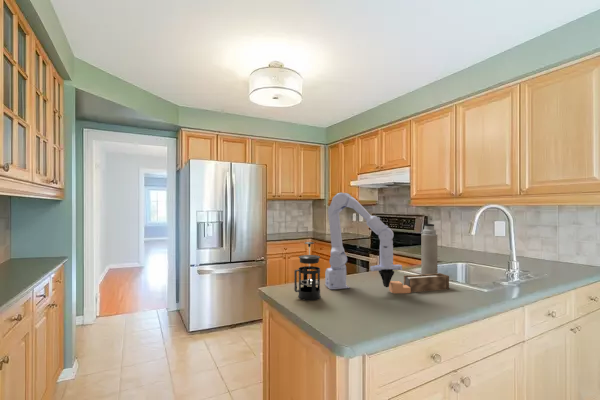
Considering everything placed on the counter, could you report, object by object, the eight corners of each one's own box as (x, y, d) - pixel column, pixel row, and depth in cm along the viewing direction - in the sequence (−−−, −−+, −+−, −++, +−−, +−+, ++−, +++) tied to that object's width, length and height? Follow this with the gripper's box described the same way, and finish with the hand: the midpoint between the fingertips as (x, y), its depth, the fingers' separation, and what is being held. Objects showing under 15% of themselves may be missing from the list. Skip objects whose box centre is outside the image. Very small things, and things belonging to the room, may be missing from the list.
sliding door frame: (411, 292, 135) (411, 278, 135) (403, 288, 140) (403, 275, 140) (449, 289, 139) (449, 276, 139) (440, 285, 145) (440, 273, 145)
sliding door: (409, 290, 136) (409, 279, 136) (405, 288, 139) (405, 277, 139) (440, 288, 140) (440, 277, 140) (435, 286, 143) (435, 275, 143)
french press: (316, 292, 134) (316, 240, 134) (326, 298, 125) (325, 242, 126) (291, 295, 130) (291, 241, 130) (299, 302, 121) (299, 244, 121)
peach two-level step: (392, 293, 133) (392, 283, 133) (389, 290, 138) (389, 281, 138) (410, 293, 134) (410, 283, 134) (406, 290, 138) (406, 281, 138)
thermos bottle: (421, 273, 170) (421, 223, 170) (437, 275, 166) (437, 223, 167) (420, 276, 162) (420, 224, 163) (437, 278, 159) (437, 224, 159)
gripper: (375, 258, 130) (375, 290, 129) (406, 256, 133) (406, 288, 133) (368, 255, 136) (368, 285, 136) (397, 254, 140) (397, 283, 140)
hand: (386, 286), depth 135 cm, fingers closed
